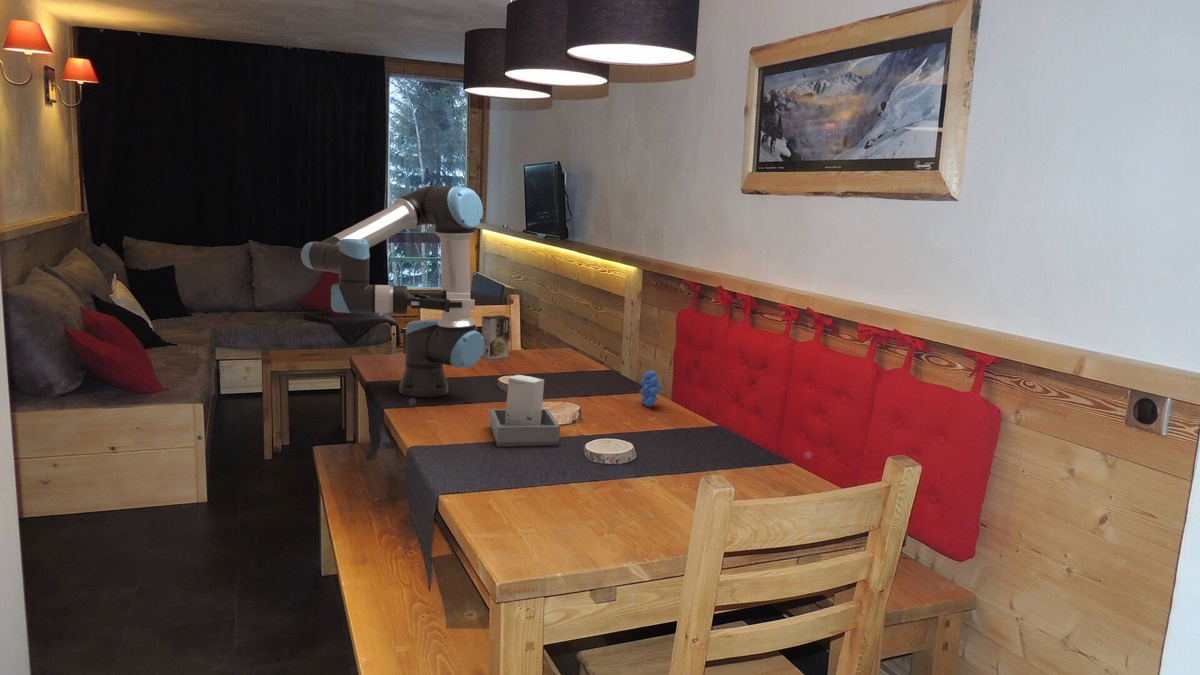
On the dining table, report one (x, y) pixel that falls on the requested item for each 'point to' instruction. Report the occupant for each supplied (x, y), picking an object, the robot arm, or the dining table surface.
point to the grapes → (650, 388)
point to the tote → (524, 431)
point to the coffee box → (495, 336)
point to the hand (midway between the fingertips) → (472, 301)
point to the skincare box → (524, 401)
